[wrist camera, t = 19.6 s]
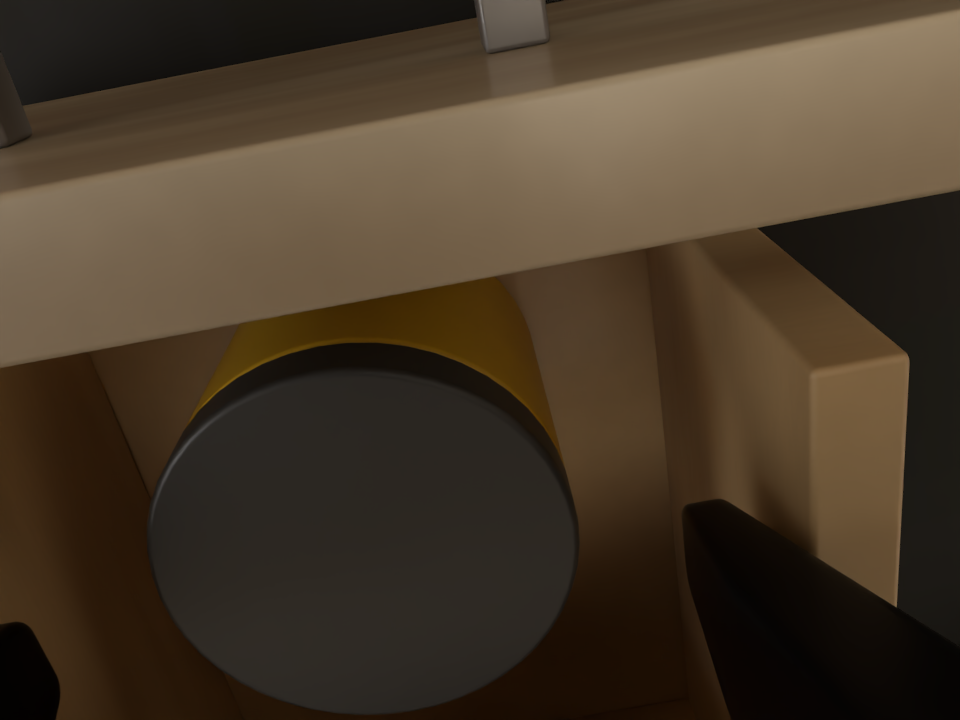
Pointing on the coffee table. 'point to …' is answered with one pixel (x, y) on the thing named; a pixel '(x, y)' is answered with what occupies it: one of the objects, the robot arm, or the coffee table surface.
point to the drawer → (466, 257)
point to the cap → (369, 504)
